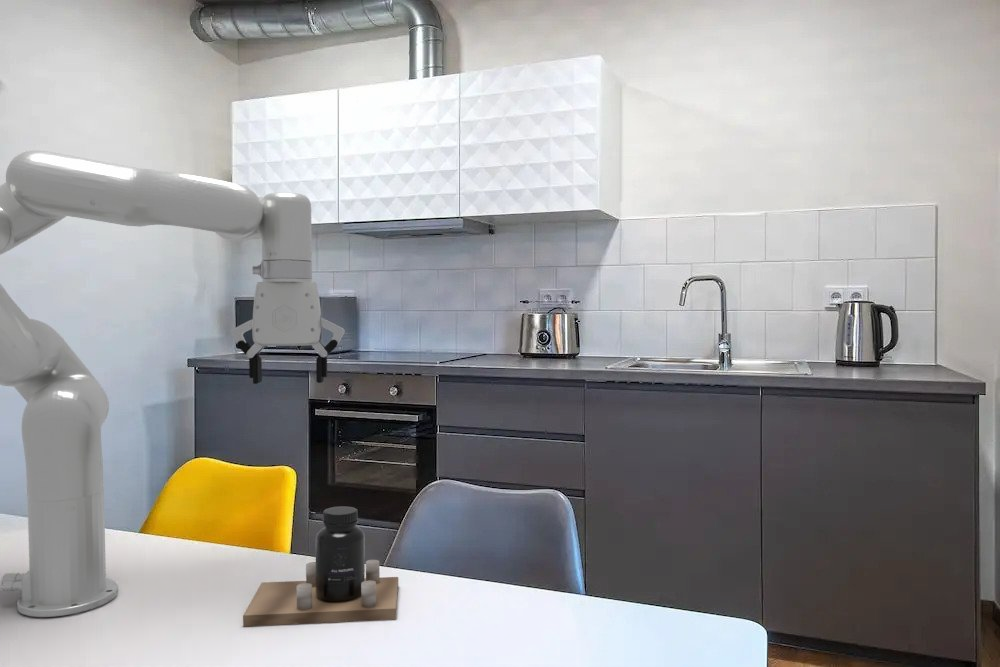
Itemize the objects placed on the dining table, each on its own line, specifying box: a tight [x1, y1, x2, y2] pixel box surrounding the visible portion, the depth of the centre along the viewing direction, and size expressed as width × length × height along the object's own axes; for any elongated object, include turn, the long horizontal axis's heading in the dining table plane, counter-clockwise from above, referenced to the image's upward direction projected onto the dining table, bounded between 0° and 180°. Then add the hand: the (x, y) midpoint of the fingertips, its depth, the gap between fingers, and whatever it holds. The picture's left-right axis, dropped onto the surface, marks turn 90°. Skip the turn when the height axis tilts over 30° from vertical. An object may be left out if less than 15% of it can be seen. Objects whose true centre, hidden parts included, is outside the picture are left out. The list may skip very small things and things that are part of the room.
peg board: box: [242, 559, 399, 628], centre depth 107 cm, size 20×12×4 cm, turn 96°
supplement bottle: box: [315, 505, 366, 602], centre depth 107 cm, size 7×7×12 cm
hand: (288, 382), depth 119 cm, fingers open, 9 cm apart
